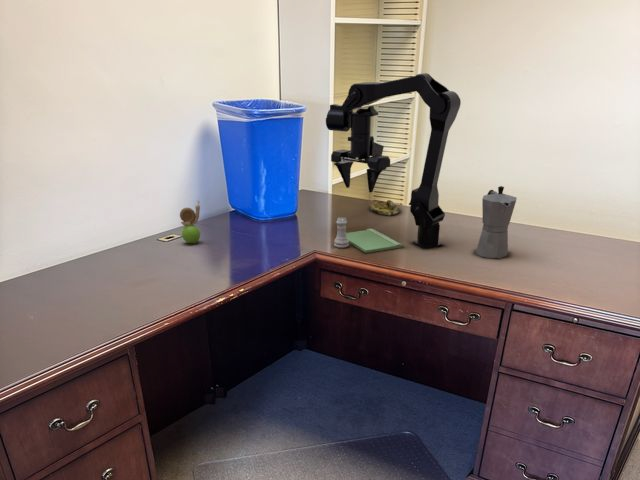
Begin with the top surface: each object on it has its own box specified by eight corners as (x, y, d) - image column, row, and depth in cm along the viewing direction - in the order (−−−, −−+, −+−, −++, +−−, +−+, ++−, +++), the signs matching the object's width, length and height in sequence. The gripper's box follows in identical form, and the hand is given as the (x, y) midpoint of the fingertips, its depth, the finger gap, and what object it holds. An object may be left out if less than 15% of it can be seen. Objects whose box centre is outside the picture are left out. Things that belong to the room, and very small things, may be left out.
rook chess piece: (331, 244, 177) (331, 217, 173) (345, 243, 178) (345, 215, 174) (337, 249, 174) (337, 221, 169) (351, 247, 175) (351, 219, 170)
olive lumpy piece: (365, 209, 215) (380, 219, 203) (364, 195, 212) (379, 205, 200) (389, 204, 216) (406, 213, 204) (388, 190, 214) (405, 199, 202)
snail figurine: (206, 244, 180) (201, 202, 173) (185, 246, 178) (179, 205, 171) (202, 239, 184) (197, 198, 177) (181, 241, 182) (175, 200, 175)
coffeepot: (515, 260, 163) (527, 191, 153) (482, 261, 163) (491, 192, 153) (497, 243, 176) (507, 178, 166) (466, 244, 176) (474, 179, 166)
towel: (402, 247, 174) (402, 243, 174) (365, 253, 170) (365, 249, 170) (373, 231, 188) (373, 228, 187) (338, 236, 184) (338, 233, 183)
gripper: (403, 132, 171) (400, 190, 179) (354, 126, 181) (353, 181, 190) (378, 137, 164) (376, 196, 173) (329, 131, 175) (329, 187, 184)
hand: (359, 189), depth 180 cm, fingers open, 9 cm apart
